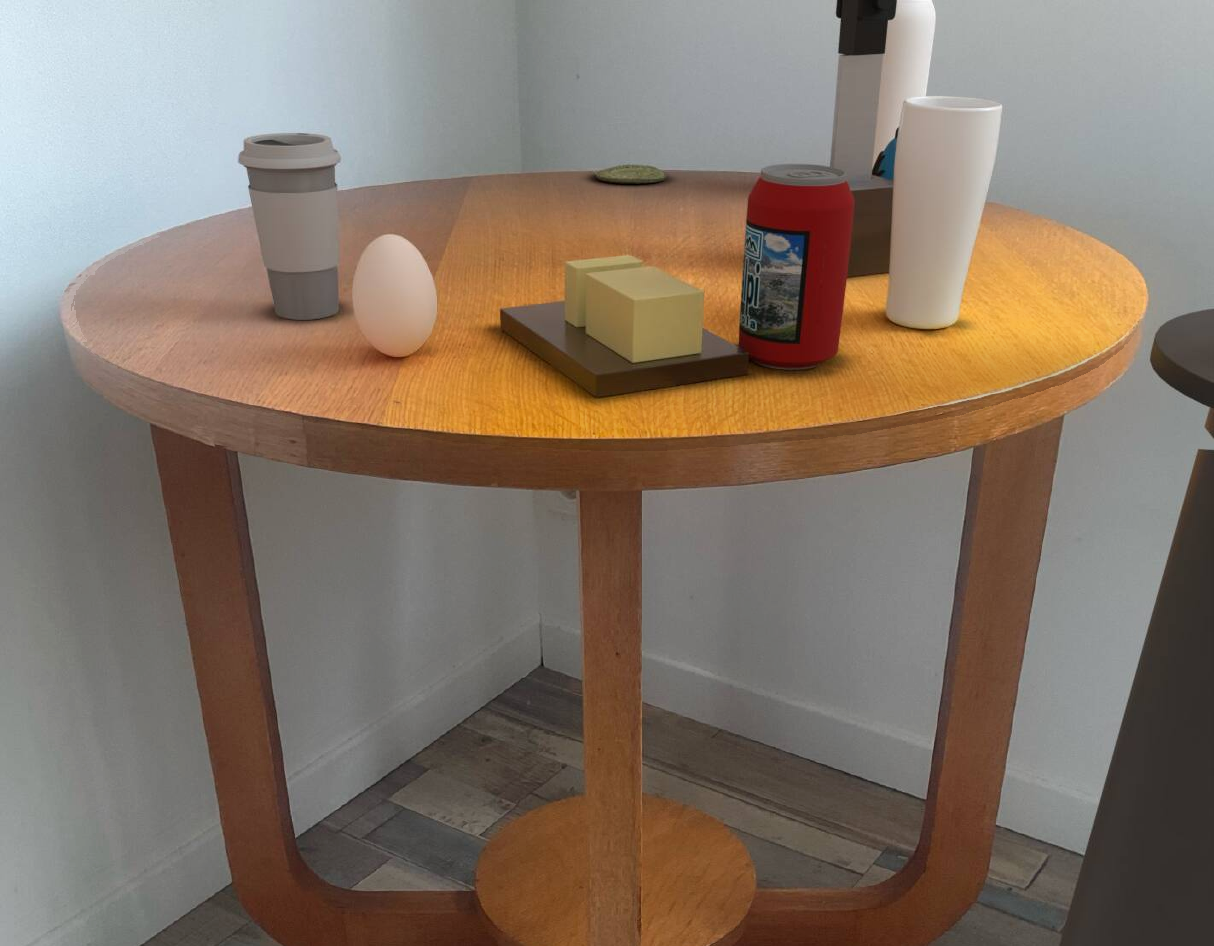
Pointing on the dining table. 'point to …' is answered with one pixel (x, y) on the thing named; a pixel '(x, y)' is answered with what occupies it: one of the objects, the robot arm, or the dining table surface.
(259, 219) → the cup
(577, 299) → the butter slice
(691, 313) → the butter block
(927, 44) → the bottle
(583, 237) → the dining table surface
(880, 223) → the knife block
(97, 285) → the dining table surface
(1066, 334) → the dining table surface
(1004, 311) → the dining table surface
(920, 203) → the drinking glass
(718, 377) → the board
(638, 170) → the medallion
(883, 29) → the knife
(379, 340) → the egg
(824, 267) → the beverage can
